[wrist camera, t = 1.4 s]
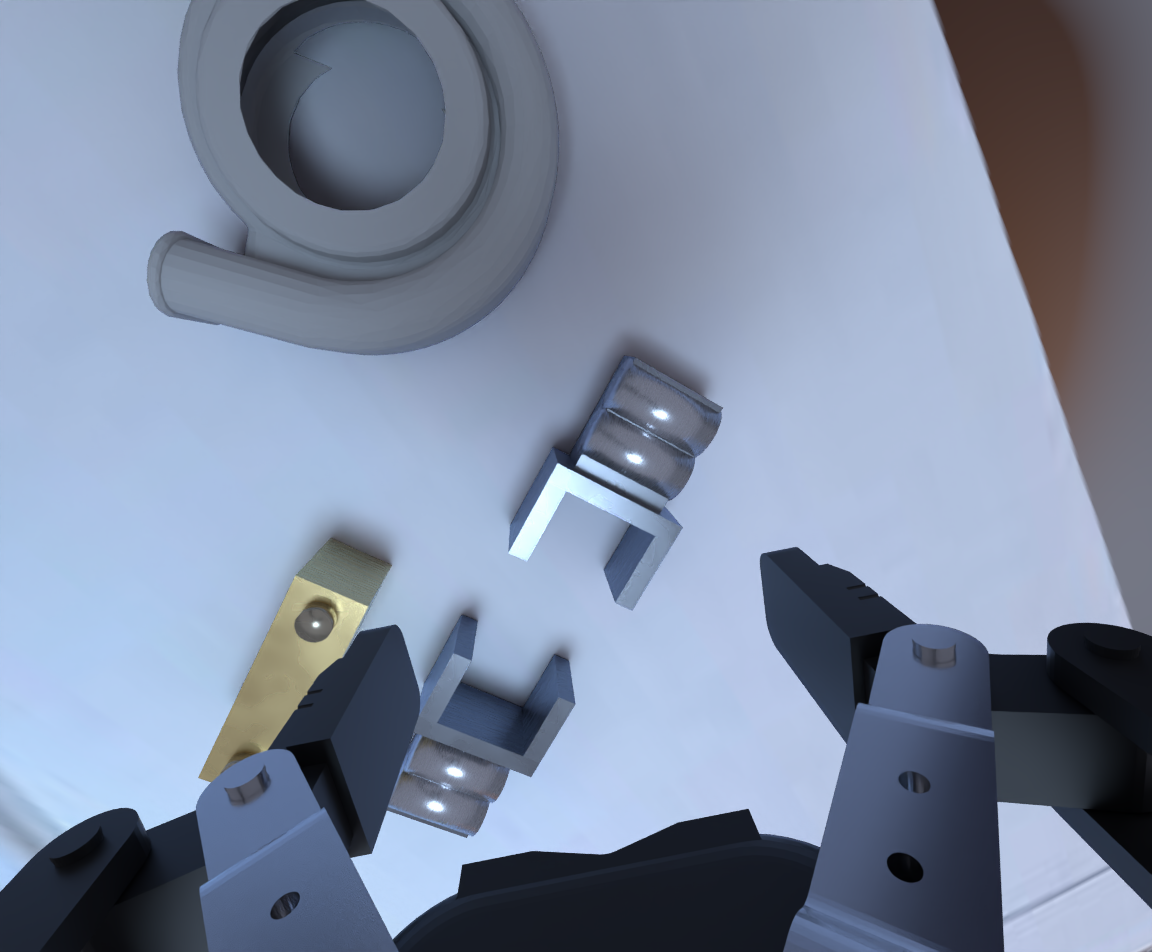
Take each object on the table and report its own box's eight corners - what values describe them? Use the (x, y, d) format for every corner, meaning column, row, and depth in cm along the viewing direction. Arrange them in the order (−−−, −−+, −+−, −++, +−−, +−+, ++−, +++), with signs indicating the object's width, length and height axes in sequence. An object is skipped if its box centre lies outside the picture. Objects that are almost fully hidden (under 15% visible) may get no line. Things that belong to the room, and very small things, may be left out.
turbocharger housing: (588, 59, 26) (262, -65, 24) (613, -42, 20) (173, -225, 18) (501, 401, 29) (196, 318, 26) (498, 407, 22) (96, 299, 20)
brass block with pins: (247, 711, 32) (188, 790, 26) (332, 536, 30) (288, 583, 24) (305, 732, 33) (260, 814, 27) (392, 563, 30) (363, 615, 25)
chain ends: (380, 762, 33) (362, 818, 29) (607, 346, 28) (621, 347, 25) (485, 800, 35) (481, 858, 31) (718, 409, 30) (747, 420, 26)
